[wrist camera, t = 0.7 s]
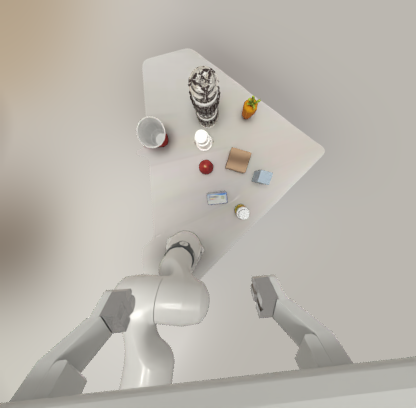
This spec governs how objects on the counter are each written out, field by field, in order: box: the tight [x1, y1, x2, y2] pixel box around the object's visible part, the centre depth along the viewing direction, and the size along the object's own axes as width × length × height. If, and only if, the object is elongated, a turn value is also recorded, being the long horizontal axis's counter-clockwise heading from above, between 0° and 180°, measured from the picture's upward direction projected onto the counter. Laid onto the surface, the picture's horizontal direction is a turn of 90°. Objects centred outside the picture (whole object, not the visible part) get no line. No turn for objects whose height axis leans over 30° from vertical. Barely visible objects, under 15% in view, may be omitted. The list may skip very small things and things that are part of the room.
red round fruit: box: [199, 160, 213, 174], centre depth 64 cm, size 6×6×8 cm
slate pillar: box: [252, 170, 273, 185], centre depth 62 cm, size 4×4×10 cm
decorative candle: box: [188, 66, 220, 128], centre depth 52 cm, size 9×9×25 cm
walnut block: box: [225, 147, 251, 173], centre depth 64 cm, size 8×8×6 cm
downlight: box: [194, 130, 213, 151], centre depth 61 cm, size 8×7×10 cm
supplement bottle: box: [235, 204, 249, 220], centre depth 65 cm, size 5×5×10 cm
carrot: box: [242, 96, 261, 119], centre depth 56 cm, size 5×5×15 cm
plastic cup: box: [136, 116, 168, 148], centre depth 61 cm, size 11×11×12 cm
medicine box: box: [207, 191, 227, 205], centre depth 65 cm, size 8×4×9 cm, turn 97°
